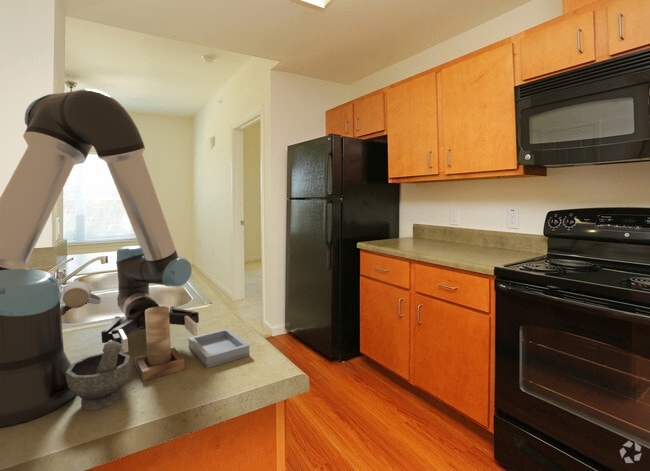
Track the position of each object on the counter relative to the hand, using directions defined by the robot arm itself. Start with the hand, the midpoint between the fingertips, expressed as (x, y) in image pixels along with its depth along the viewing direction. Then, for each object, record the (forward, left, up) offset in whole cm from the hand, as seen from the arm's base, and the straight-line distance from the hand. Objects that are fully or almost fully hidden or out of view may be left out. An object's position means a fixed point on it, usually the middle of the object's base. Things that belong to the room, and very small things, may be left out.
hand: (162, 337), depth 73 cm
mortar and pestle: (-11, -5, -8) cm, 15 cm away
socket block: (0, +2, -7) cm, 8 cm away
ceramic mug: (-11, +65, -8) cm, 66 cm away
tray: (+13, +2, -7) cm, 15 cm away
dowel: (0, +2, -7) cm, 8 cm away
